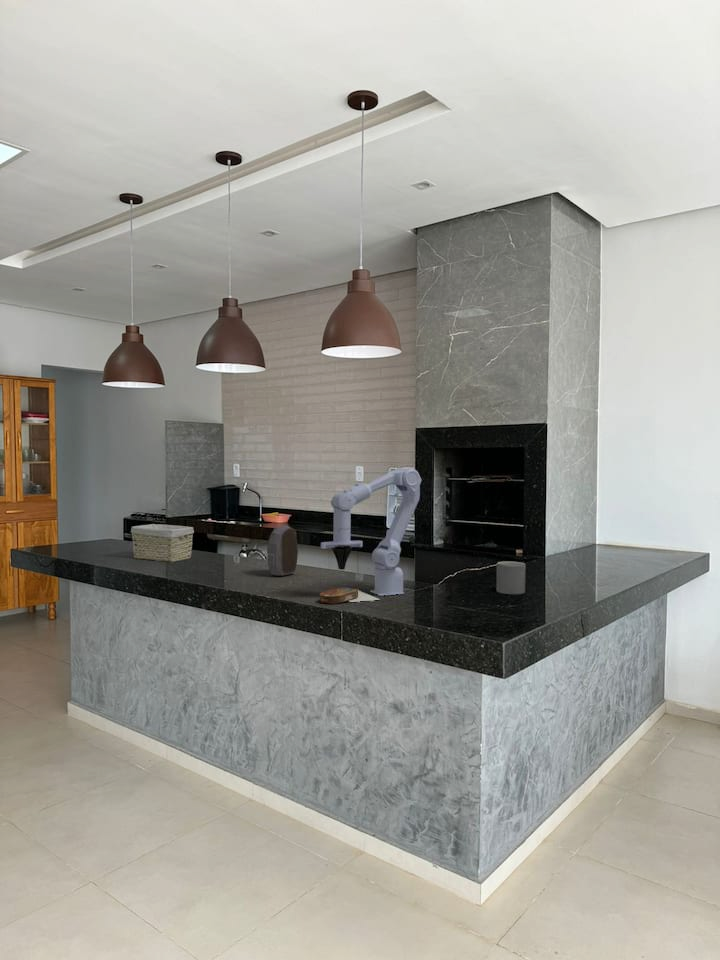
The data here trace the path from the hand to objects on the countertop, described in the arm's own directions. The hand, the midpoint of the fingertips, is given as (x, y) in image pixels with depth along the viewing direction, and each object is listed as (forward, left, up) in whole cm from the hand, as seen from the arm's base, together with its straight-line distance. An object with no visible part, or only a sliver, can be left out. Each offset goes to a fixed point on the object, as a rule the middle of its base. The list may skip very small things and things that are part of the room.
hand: (341, 569), depth 236 cm
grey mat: (-4, 0, -9) cm, 10 cm away
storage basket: (+40, -109, -10) cm, 117 cm away
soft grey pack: (+5, -49, -10) cm, 50 cm away
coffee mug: (-61, +12, -10) cm, 63 cm away
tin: (+5, +1, -8) cm, 9 cm away
